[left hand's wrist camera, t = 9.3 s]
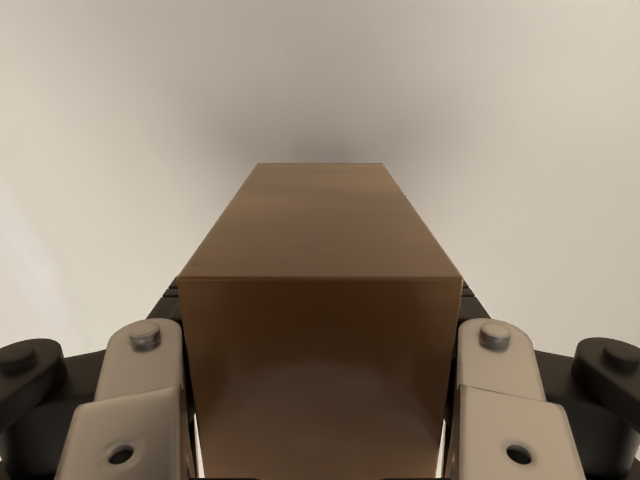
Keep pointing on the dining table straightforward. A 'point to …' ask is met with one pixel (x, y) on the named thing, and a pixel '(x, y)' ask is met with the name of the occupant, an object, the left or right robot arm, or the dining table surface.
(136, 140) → the dining table surface
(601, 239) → the dining table surface
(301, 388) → the block
